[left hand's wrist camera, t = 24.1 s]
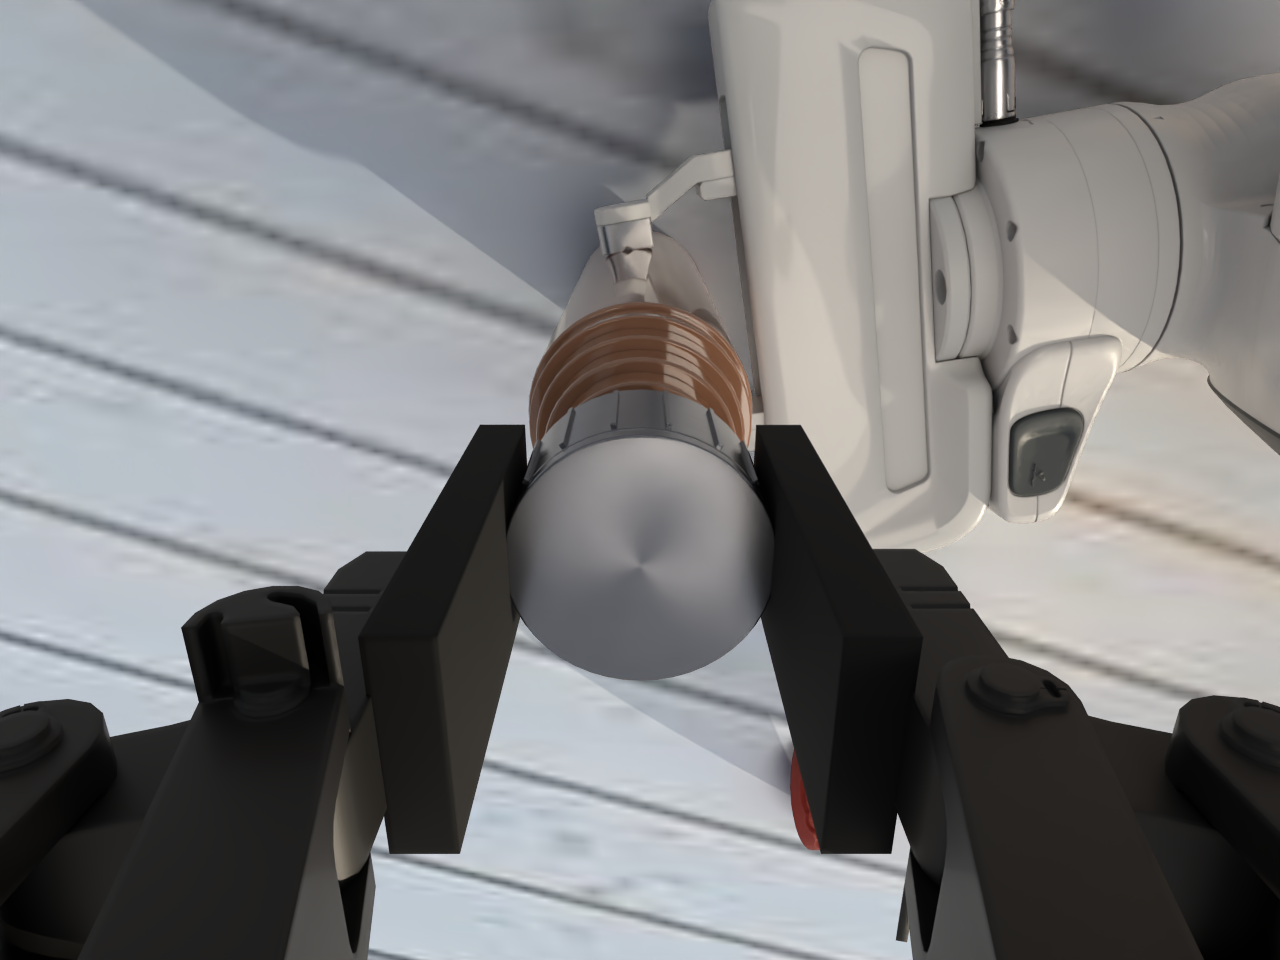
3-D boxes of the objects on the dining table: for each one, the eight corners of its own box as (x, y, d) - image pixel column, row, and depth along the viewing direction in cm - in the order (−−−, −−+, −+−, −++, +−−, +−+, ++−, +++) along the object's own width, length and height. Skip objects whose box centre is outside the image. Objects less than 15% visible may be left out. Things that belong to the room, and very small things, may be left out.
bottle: (558, 265, 35) (408, 477, 12) (666, 206, 34) (718, 319, 12) (615, 371, 36) (576, 726, 14) (721, 317, 36) (858, 605, 13)
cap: (516, 386, 14) (491, 432, 11) (766, 386, 14) (790, 433, 11) (527, 604, 15) (508, 682, 13) (752, 605, 15) (771, 682, 13)
